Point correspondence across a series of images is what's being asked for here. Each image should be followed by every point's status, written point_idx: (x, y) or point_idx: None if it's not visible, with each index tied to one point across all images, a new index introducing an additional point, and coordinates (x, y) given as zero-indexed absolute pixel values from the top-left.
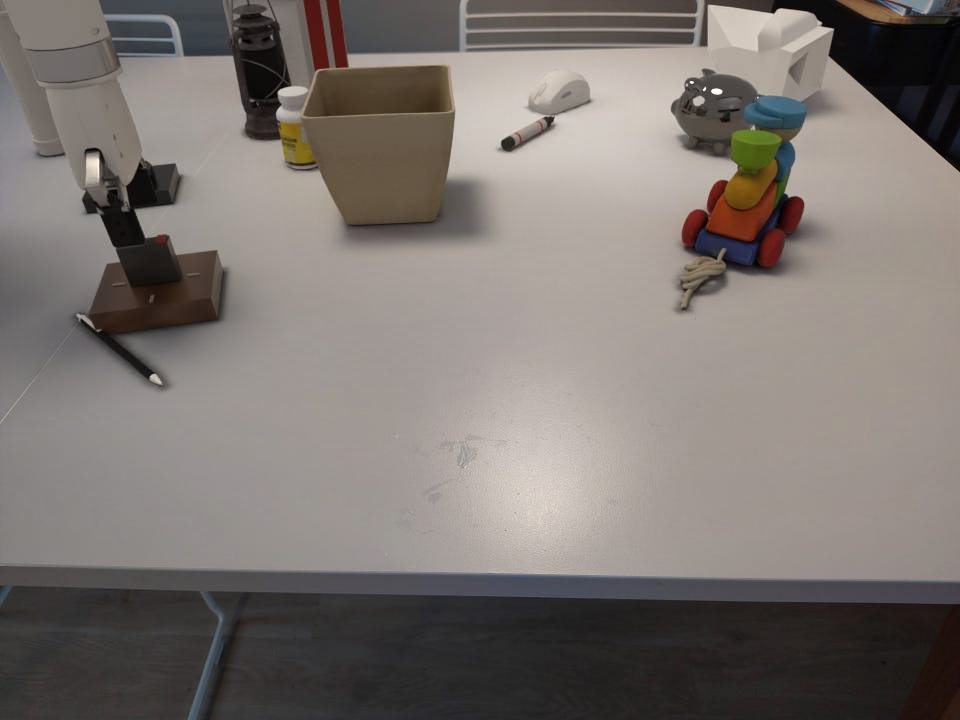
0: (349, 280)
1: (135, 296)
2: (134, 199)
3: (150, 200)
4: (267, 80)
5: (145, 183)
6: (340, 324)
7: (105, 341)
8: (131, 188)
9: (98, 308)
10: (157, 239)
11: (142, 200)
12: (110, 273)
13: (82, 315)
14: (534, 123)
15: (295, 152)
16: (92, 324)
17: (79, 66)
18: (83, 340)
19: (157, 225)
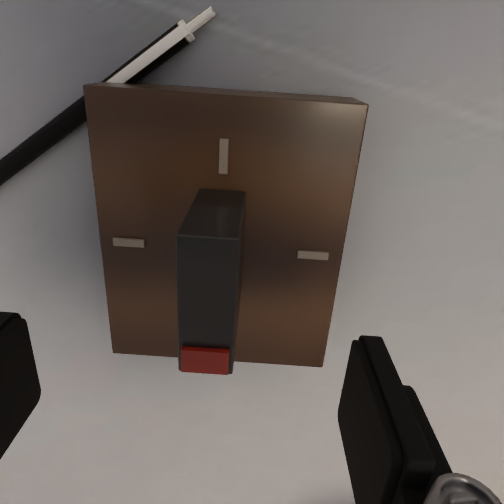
0: (204, 493)
1: (152, 202)
2: (354, 377)
3: (342, 412)
4: None
5: (357, 483)
6: (82, 469)
7: (67, 108)
8: (366, 420)
9: (110, 110)
10: (196, 355)
11: (348, 392)
12: (300, 123)
13: (181, 33)
14: None
15: None
16: (128, 70)
17: None
18: (98, 42)
19: None
